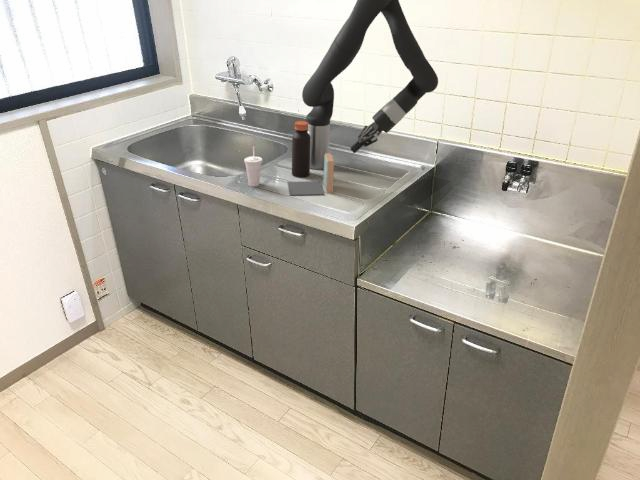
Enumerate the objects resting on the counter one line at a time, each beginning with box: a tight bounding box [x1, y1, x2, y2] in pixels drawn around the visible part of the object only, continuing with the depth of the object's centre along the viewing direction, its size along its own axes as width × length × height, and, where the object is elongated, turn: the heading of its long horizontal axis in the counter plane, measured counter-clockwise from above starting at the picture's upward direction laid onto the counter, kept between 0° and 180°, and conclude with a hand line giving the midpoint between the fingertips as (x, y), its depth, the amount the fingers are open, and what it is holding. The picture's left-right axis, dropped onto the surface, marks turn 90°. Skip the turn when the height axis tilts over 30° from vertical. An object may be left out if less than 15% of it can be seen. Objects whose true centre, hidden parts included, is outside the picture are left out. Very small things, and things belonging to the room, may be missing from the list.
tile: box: [322, 152, 335, 194], centre depth 190 cm, size 2×8×12 cm, turn 7°
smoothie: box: [243, 146, 263, 187], centre depth 190 cm, size 6×6×14 cm
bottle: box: [291, 120, 311, 178], centre depth 199 cm, size 7×7×20 cm
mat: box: [287, 180, 325, 197], centre depth 192 cm, size 12×12×1 cm
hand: (352, 150), depth 187 cm, fingers closed
